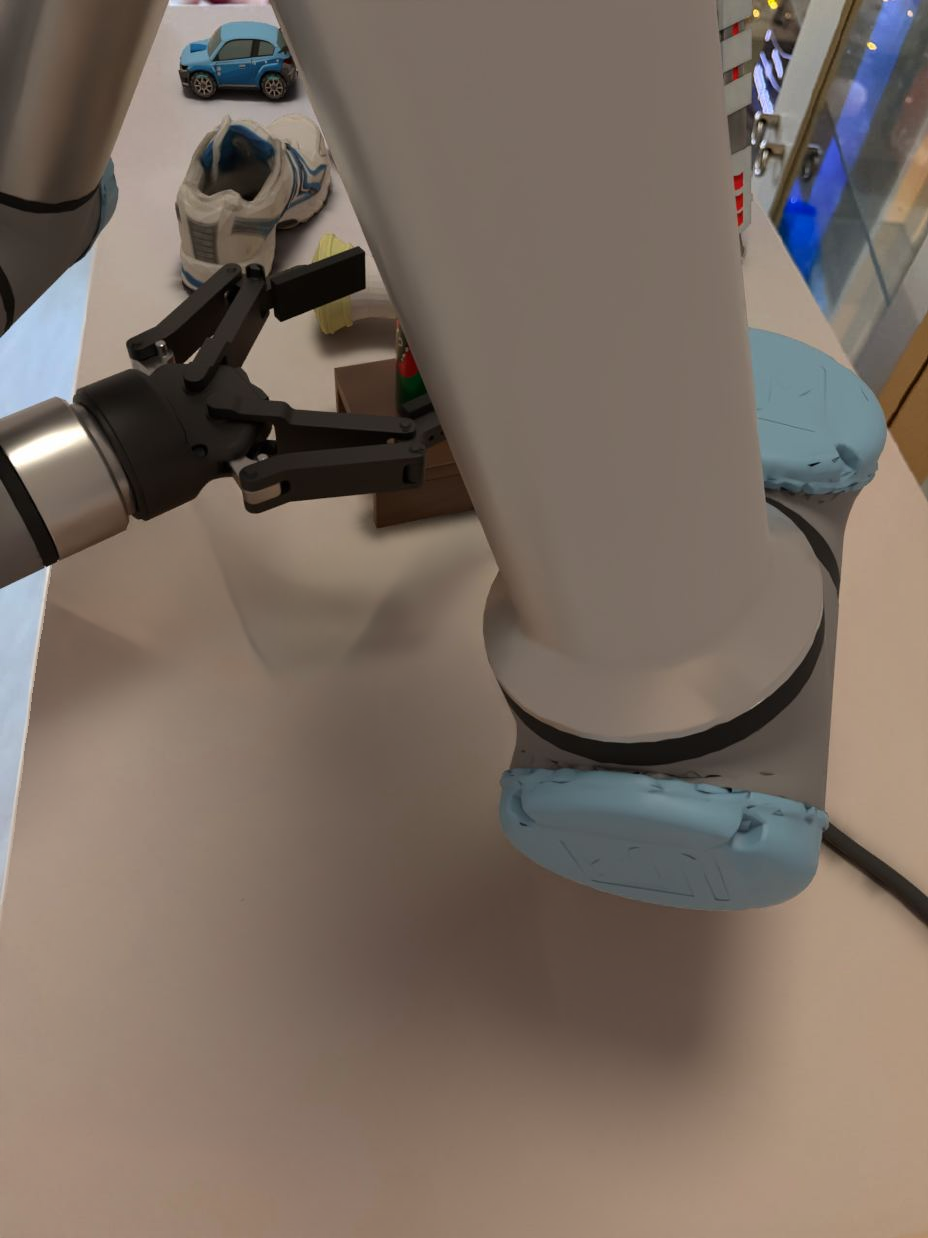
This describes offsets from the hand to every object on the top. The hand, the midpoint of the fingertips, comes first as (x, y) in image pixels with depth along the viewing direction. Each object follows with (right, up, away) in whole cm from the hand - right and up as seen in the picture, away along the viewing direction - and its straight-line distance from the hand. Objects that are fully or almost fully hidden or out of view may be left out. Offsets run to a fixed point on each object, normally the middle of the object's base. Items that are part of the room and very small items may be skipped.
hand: (425, 322), depth 58 cm
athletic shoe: (-16, +16, +26) cm, 34 cm away
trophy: (+5, +5, +19) cm, 20 cm away
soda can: (0, -4, +6) cm, 8 cm away
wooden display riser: (0, -7, +10) cm, 12 cm away
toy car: (-21, +37, +40) cm, 59 cm away
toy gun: (+14, +23, +17) cm, 32 cm away
